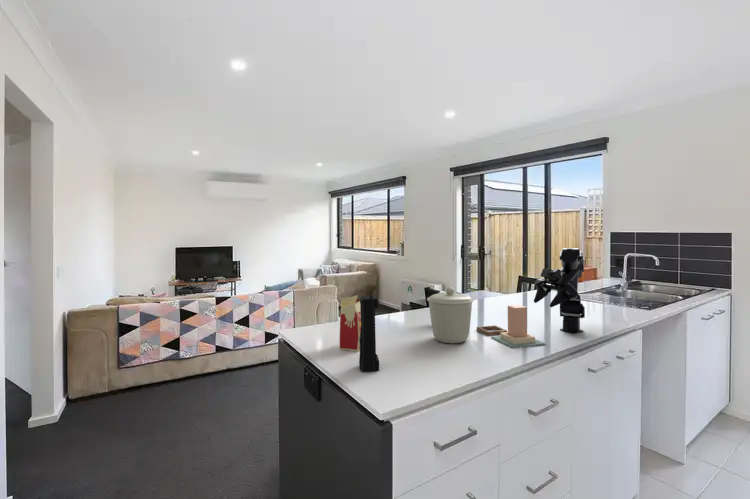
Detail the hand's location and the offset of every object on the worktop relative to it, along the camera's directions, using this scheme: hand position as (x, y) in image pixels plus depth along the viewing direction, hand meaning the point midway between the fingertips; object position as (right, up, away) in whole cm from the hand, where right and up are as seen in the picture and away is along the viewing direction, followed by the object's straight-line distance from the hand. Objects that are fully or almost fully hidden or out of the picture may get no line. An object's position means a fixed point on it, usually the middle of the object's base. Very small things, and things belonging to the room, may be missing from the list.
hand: (542, 304), depth 143 cm
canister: (-36, -15, +1) cm, 39 cm away
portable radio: (-68, -16, -27) cm, 75 cm away
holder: (-16, -14, +11) cm, 24 cm away
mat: (-11, -14, -3) cm, 18 cm away
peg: (-11, -13, -3) cm, 17 cm away
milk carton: (-75, -16, -6) cm, 76 cm away
